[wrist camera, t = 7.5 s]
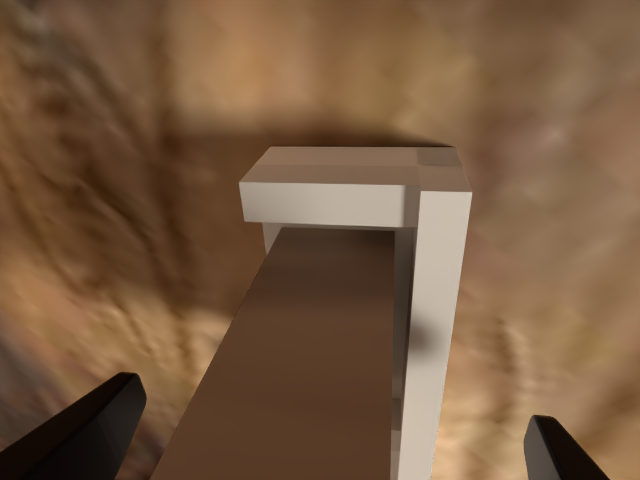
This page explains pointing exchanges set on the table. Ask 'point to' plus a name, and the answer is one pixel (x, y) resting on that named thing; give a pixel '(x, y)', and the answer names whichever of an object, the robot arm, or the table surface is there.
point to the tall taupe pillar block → (299, 369)
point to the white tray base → (409, 258)
